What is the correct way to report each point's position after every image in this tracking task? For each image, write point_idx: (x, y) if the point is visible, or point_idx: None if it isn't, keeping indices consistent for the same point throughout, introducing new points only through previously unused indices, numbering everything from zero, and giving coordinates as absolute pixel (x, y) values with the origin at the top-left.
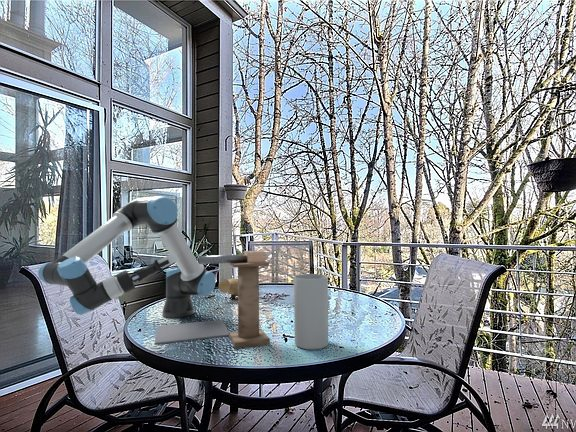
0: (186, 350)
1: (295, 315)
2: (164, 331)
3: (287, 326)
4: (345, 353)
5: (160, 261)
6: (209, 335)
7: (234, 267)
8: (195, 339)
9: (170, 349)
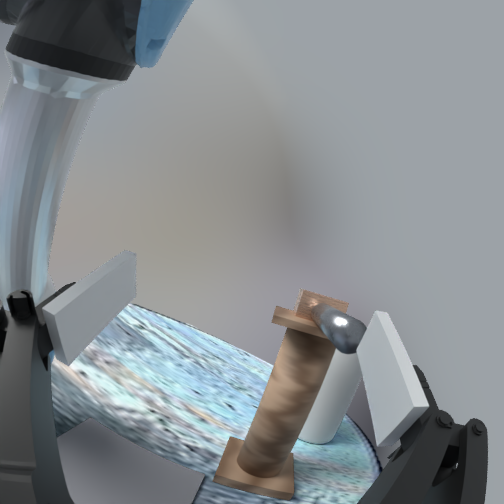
0: None
1: (331, 406)
2: None
3: (217, 408)
4: (347, 426)
5: (422, 395)
6: (182, 500)
7: None
8: None
9: None
